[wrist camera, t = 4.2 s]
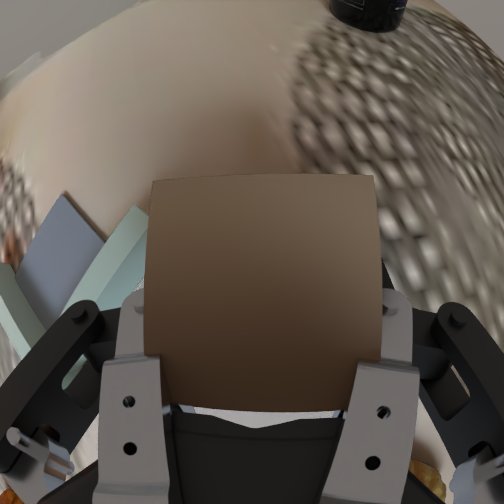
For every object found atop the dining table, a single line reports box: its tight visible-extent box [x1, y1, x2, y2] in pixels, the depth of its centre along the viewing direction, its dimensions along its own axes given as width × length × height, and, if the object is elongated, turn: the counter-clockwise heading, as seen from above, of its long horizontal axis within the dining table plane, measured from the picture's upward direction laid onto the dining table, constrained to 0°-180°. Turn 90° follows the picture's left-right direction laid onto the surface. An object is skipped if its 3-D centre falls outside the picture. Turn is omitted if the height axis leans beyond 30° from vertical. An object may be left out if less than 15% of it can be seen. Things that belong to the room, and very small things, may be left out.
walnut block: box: [143, 174, 382, 412], centre depth 10 cm, size 4×4×10 cm
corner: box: [0, 194, 149, 389], centre depth 15 cm, size 13×13×3 cm
